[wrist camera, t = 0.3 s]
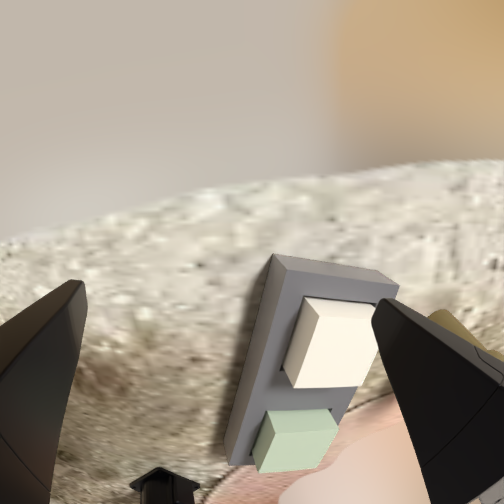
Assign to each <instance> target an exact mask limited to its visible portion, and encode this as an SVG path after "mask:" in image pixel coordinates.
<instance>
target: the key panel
mask: <svg viewBox="0 0 504 504" xmlns="http://www.w3.org/2000/svg"><path fill="white" fill-rule="evenodd" d="M399 286H400V285H398V284H397V283H395V282H394V281H392V280H391V279H389V278H388V277H386V276H385V275H383V274H382V273H380V272H379V271H376V270H370V269H364V268H358V267H352V266H346V265H340V264H334V263H328V262H322V261H316V260H310V259H303V258H297V257H291V256H285V255H279V254H273V256H272V260H271V264H270V268H269V271H268V275H267V279H266V283H265V287H264V291H263V295H262V299H261V303H260V307H259V310H258V314H257V318H256V322H255V326H254V330H253V333H252V337H251V341H250V345H249V349H248V352H247V356H246V360H245V364H244V367H243V371H242V375H241V378H240V382H239V386H238V389H237V393H236V397H235V400H234V404H233V408H232V411H231V415H230V419H229V422H228V426H227V429H226V433H225V436H224V440H223V442H224V447H225V452H226V456H227V461H228V466H230V465H256V464H255V461H254V458H253V454H252V451H251V449H252V446H253V443H254V441H255V438H256V435H257V433H258V430H259V427H260V425H261V422H262V419H263V416H264V414H265V411H286V410H313V409H328V410H329V412H330V414H331V415H332V417H333V419H334V420H335V422H336V424H337V425H339V423H340V421H341V419H342V417H343V415H344V413H345V411H346V409H347V408H348V406H349V404H350V402H351V400H352V398H353V396H354V394H355V392H356V389H357V387H358V386H352V387H330V388H293V386H292V384H291V382H290V380H289V378H288V376H287V374H286V372H285V370H284V368H283V366H282V361H283V358H284V355H285V352H286V349H287V346H288V343H289V340H290V337H291V334H292V330H293V327H294V324H295V321H296V318H297V314H298V311H299V308H300V305H301V301H302V298H303V296H312V297H321V298H330V299H339V300H348V301H358V302H368V303H370V304H371V305H372V306H373V307H375V308H376V307H377V304H378V302H379V300H380V299H382V298H393V299H395V297H396V295H397V292H398V289H399Z"/></svg>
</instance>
